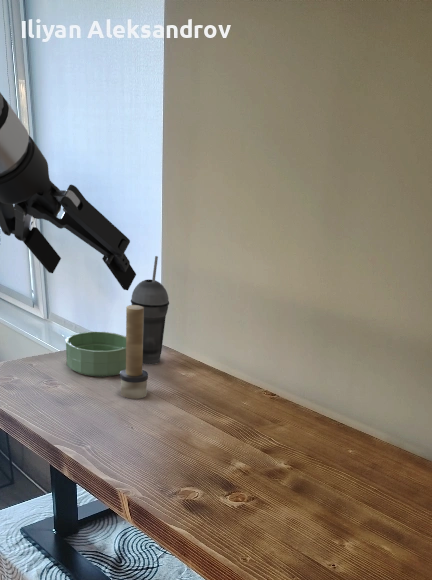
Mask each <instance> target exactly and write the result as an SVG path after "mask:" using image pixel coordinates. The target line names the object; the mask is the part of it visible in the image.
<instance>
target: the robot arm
mask: <svg viewBox="0 0 432 580" xmlns="http://www.w3.org/2000/svg"><path fill="white" fill-rule="evenodd" d="M61 210H62V211H63V214H62V216H61V218H60V217H58V216H59V214H60V212H61ZM33 219H35V220H44V221H47V222H49V223H51V224H52V225H53V226H55V227H56V228H57V229H61V230H62V229H66V231H69V232H70V233H71V234H73V235H74V236H76V237H77V238H78V239H80V240H81V241H83V242H84V243H85V244H86V245H88V246H90V247H91V248H93V249H94V250H95V251H97V252H98V253H99V254H101V255H102V258H101V260H102V261H103V263H104V264H105V265H106V267H107V268H108V270H110V272H111V274H112V275H113V277H114V278H115V279H116V282H118V284H119V285H120V287H121V288H122V289H123V290H124V291H129V290H130V287H131V285H132V284H133V282H134V280H135V278H136V276H137V272H136V271H135V270H134V268H133V267H132V265H131V262H130V259H129V258H128V256H127V255H126V253H125V252H126V250H127V249H128V247H129V245H130V243H131V240H130V238H129V237H128V236H127V235H125V234H124V233H123V232H122V231H121V230H120V229H119V228H118V227H116V226H115V224H113V223H112V222H111V221H110V220H109V218H107V217H106V216H105V215H104V214H102V213H101V212H100V211H99V210H98V209H97V208H96V207H95V206H94V205H92V203H91V202H90V201H88V200H87V199H86V198H85V196H84V195H83V193H81V191H80V190H79V188H78V187H77V186H76V185H74V184H69V185H68V187H67V189H66V190H65V189H64V190H62V189H60V188H59V187H58V186H57V185H56V184H55V183H54V182H53V181H52V180H51V179H50V171H49V164H48V161H47V159H46V157H45V155H44V154H43V152H42V151H41V150H40V148H39V146H38V145H37V144H36V142H35V141H34V139H33V138H32V137H31V135H29V132H28V129H27V127H25V125H24V124H23V122H22V121H21V119H20V118H19V116H18V115H17V113H16V112H15V111H14V109H13V108H12V106H11V105H10V103H9V102H8V100H7V99H6V98H5V97H4V95H3V94H2V93H1V92H0V230H1V232H2V233H3V234H4V235H6V236H8V237H10V236H12V235H14V237H15V239H16V240H18V241H20V242H23V244H24V245H25V246H26V247H27V248H28V250H29V251H30V252H31V253H32V254H33V256H34V257H35V258H36V259H37V260H38V261H39V263H40V264H41V265H42V266H43V267H44V269H45V270H46V271H47V272H48V273H49V274H54V272H55V270H56V268H57V267H58V265H59V263H60V262H61V259H62V258H61V256H60V254H58V252H57V251H56V250H55V248H54V247H53V246H52V245H51V243H50V242H49V240H47V238H46V237H45V236H44V234H43V233H42V232H41V230H39V228H38V227H35V226H32V225H33V223H34V221H32V220H33ZM31 227H32V228H31ZM30 228H31V229H30ZM1 239H2V238H1V237H0V244H1Z"/></svg>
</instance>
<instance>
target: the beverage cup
mask: <svg viewBox="0 0 432 580" xmlns="http://www.w3.org/2000/svg"><path fill="white" fill-rule="evenodd" d="M158 259H159V256H158V255H155V256H154V263H153V271H152V279H144V280H142V281H139V283H137V284H136V286H135V287H134V289H133V291H132V294H131V299H130V303H131V305H139V306H142V307H144V324H143V365H157V364H159V363H160V362H161V357H162V356H161V355H162V350H163V342H164V335H165V326H166V317H167V313H168V309H169V305H170V300H169V294H168V291H167V290H166V288H165V287H164V285H163V284H162V283H161V282H159V281H157V280H156V277H157V268H158V267H157V266H158Z"/></svg>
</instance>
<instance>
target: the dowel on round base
mask: <svg viewBox="0 0 432 580" xmlns="http://www.w3.org/2000/svg"><path fill="white" fill-rule="evenodd" d="M125 308H126V309H125V314H126V315H125V319H126V320H125V336H126V369H124V370H122V371H121V372H120V374H119V379H120V395H121V396H122V397H124V398H126V399H131V400H135V399H136V400H138V399H143V398H145V397H146V396H147V395H148V394H147V392H148V391H147V390H148V389H147V388H148V380H149V372H148V371H146V370H145V369H143V365H144V364H143V324H144V307H142V306H139V305H132V304H130V305H127V306H126V307H125Z"/></svg>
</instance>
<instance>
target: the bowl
mask: <svg viewBox="0 0 432 580" xmlns="http://www.w3.org/2000/svg"><path fill="white" fill-rule="evenodd" d="M65 351H66V352H65V355H66V366H67V368H69V369H70V370H71V371H74V372H75V373H78V374H81V375H85V376H89V377H112V376H113V377H114V376H118V375H120V372H121V371H122V370H124V369H126V335H122V334H119V333H115V332H108V331H107V332H106V331H84V332H78V333H73V334H71V335H69V336H68V337H66V338H65Z"/></svg>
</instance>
